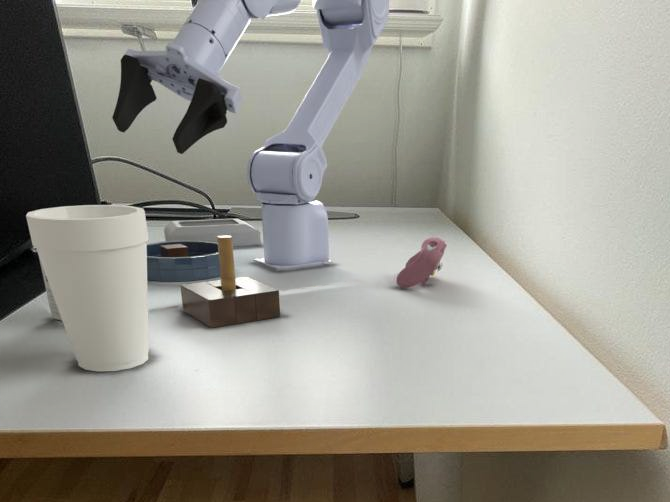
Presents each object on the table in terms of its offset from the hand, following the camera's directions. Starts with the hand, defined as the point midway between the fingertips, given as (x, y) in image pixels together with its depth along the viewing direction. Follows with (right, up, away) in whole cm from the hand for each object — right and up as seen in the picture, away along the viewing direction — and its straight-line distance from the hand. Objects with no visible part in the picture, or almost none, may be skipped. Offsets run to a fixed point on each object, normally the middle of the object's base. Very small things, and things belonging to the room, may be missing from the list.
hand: (147, 136), depth 74 cm
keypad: (-2, +2, +41) cm, 41 cm away
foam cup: (+1, -28, -12) cm, 30 cm away
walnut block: (-3, -8, +22) cm, 23 cm away
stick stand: (+9, -19, +2) cm, 21 cm away
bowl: (-1, -9, +20) cm, 22 cm away
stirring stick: (+9, -19, +2) cm, 21 cm away
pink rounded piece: (+32, -11, +17) cm, 39 cm away
